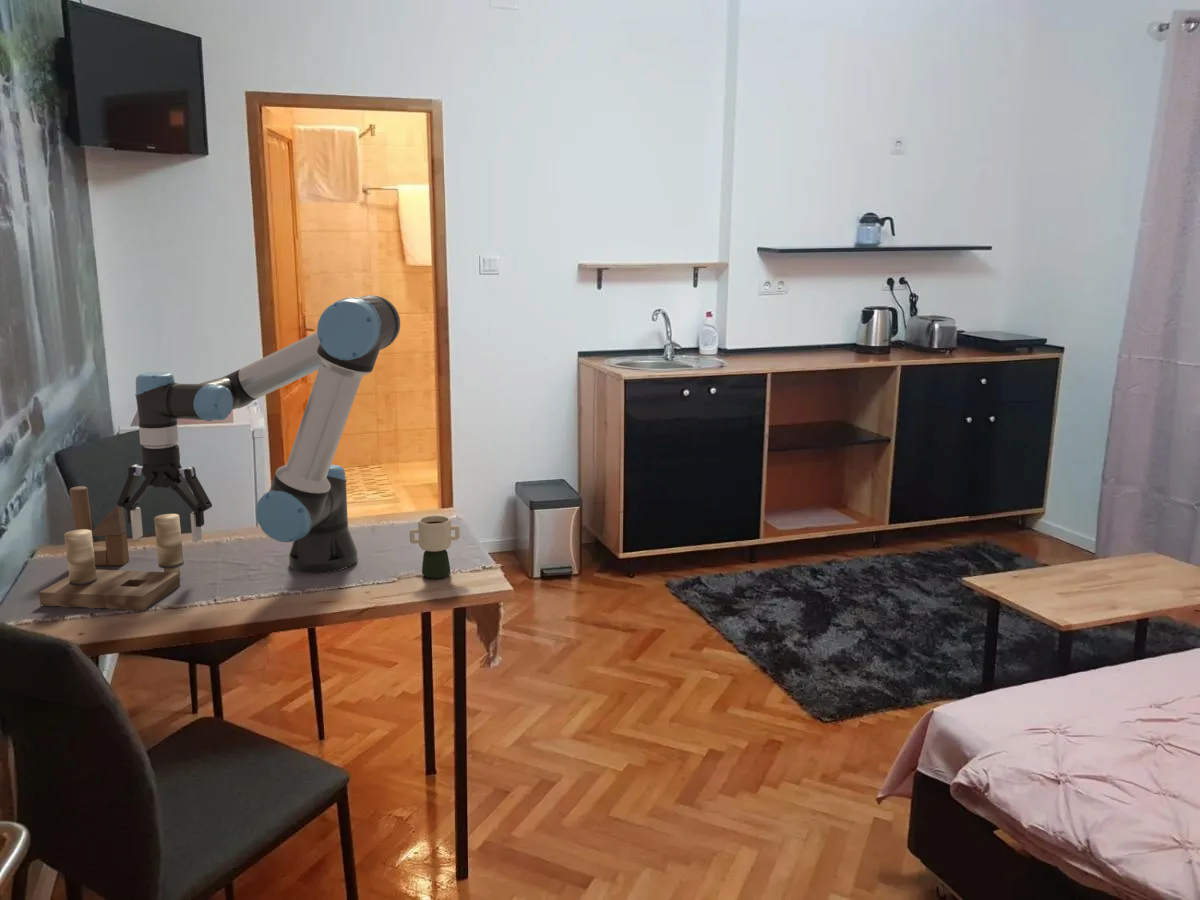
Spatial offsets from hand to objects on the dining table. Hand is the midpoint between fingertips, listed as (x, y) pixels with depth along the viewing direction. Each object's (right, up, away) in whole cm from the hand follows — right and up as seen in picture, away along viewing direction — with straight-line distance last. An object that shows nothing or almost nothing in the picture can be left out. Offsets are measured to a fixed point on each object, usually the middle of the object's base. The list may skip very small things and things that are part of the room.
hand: (167, 539), depth 211 cm
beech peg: (0, -8, +2) cm, 8 cm away
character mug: (+59, -9, +3) cm, 59 cm away
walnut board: (-7, -11, -10) cm, 16 cm away
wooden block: (-19, -7, +9) cm, 22 cm away
